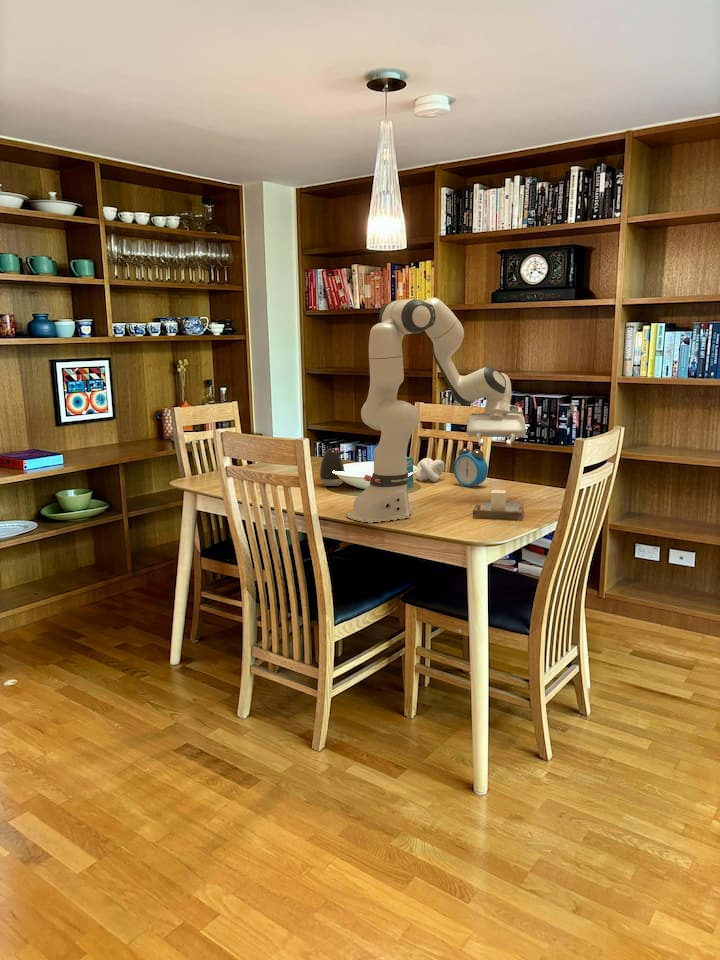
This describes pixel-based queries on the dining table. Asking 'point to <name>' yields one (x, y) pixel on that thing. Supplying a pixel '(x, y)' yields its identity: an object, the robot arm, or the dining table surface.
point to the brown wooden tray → (497, 514)
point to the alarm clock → (470, 467)
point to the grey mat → (509, 506)
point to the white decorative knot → (429, 469)
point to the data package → (410, 469)
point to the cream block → (498, 500)
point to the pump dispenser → (331, 468)
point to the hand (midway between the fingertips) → (494, 445)
